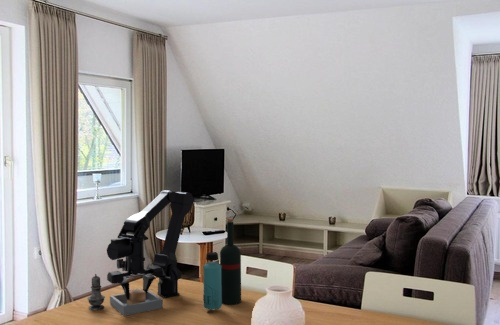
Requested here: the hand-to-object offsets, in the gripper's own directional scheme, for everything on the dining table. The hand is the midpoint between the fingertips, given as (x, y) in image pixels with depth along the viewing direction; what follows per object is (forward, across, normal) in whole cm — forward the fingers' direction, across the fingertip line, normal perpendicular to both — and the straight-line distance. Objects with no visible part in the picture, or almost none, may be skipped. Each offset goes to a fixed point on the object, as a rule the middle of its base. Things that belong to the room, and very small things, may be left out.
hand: (136, 298), depth 185 cm
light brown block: (+2, 0, 0) cm, 2 cm away
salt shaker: (+3, +12, -6) cm, 14 cm away
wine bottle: (+3, -31, +13) cm, 34 cm away
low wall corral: (+3, 0, 0) cm, 3 cm away
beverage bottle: (+3, -20, +19) cm, 28 cm away
